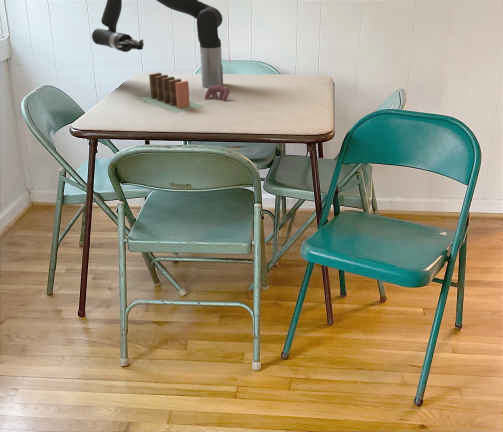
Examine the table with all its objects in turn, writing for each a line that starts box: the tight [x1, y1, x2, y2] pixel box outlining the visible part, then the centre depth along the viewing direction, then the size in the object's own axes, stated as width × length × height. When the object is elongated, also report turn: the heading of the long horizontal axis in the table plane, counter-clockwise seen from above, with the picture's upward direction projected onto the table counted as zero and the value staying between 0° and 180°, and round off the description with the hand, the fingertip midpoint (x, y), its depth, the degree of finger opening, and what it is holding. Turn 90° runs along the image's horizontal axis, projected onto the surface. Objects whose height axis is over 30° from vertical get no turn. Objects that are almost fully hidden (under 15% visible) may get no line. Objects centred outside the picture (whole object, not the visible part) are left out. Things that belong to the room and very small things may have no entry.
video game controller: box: [204, 85, 231, 102], centre depth 262 cm, size 10×5×7 cm, turn 65°
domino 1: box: [148, 72, 163, 99], centre depth 264 cm, size 2×5×10 cm, turn 129°
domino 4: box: [168, 78, 182, 106], centre depth 254 cm, size 2×5×10 cm, turn 129°
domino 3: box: [162, 76, 176, 104], centre depth 257 cm, size 2×5×10 cm, turn 129°
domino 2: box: [155, 74, 169, 101], centre depth 261 cm, size 2×5×10 cm, turn 129°
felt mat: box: [137, 95, 205, 114], centre depth 259 cm, size 30×14×1 cm, turn 39°
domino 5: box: [175, 80, 190, 108], centre depth 250 cm, size 2×5×10 cm, turn 129°
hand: (140, 47), depth 265 cm, fingers closed
